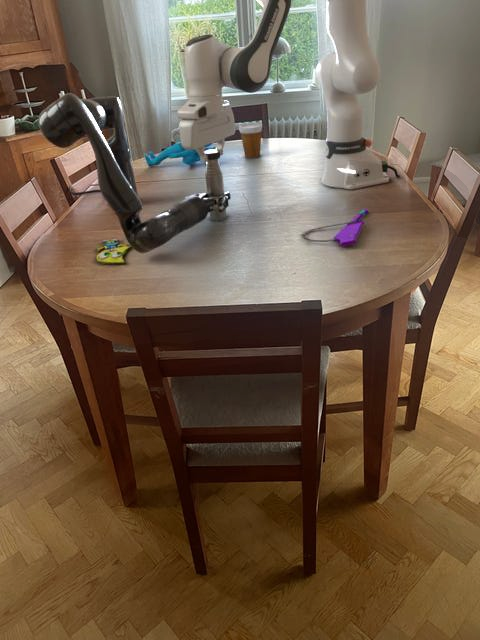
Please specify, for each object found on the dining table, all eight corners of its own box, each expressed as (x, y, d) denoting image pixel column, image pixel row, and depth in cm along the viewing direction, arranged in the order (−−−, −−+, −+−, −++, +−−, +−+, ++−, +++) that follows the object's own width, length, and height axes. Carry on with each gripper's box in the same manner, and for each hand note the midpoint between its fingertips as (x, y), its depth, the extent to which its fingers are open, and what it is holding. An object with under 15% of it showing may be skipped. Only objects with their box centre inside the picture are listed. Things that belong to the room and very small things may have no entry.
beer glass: (264, 157, 198) (262, 127, 191) (241, 159, 198) (238, 129, 192) (263, 152, 206) (261, 122, 199) (241, 153, 206) (239, 124, 200)
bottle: (229, 218, 144) (223, 153, 134) (214, 221, 143) (206, 157, 132) (222, 213, 148) (216, 150, 138) (207, 217, 146) (200, 153, 136)
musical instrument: (305, 254, 121) (386, 239, 118) (304, 246, 120) (385, 231, 117) (298, 224, 142) (366, 211, 139) (297, 217, 141) (366, 204, 138)
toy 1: (135, 237, 135) (125, 260, 122) (135, 240, 135) (125, 263, 123) (99, 239, 135) (85, 263, 122) (100, 242, 135) (86, 266, 123)
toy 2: (152, 145, 206) (216, 125, 196) (162, 169, 211) (224, 150, 201) (137, 155, 193) (205, 134, 182) (148, 181, 198) (214, 162, 187)
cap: (205, 161, 133) (204, 154, 132) (202, 157, 137) (201, 150, 136) (221, 158, 134) (221, 152, 133) (218, 154, 138) (217, 148, 137)
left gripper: (207, 203, 126) (240, 184, 138) (164, 197, 133) (200, 179, 145) (210, 230, 131) (242, 209, 142) (169, 223, 137) (203, 203, 149)
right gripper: (220, 98, 137) (225, 148, 144) (172, 112, 123) (180, 167, 131) (238, 99, 133) (242, 150, 141) (191, 113, 120) (198, 169, 127)
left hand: (221, 194), depth 144 cm, fingers closed on bottle, 5 cm apart
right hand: (212, 158), depth 136 cm, fingers open, 5 cm apart
